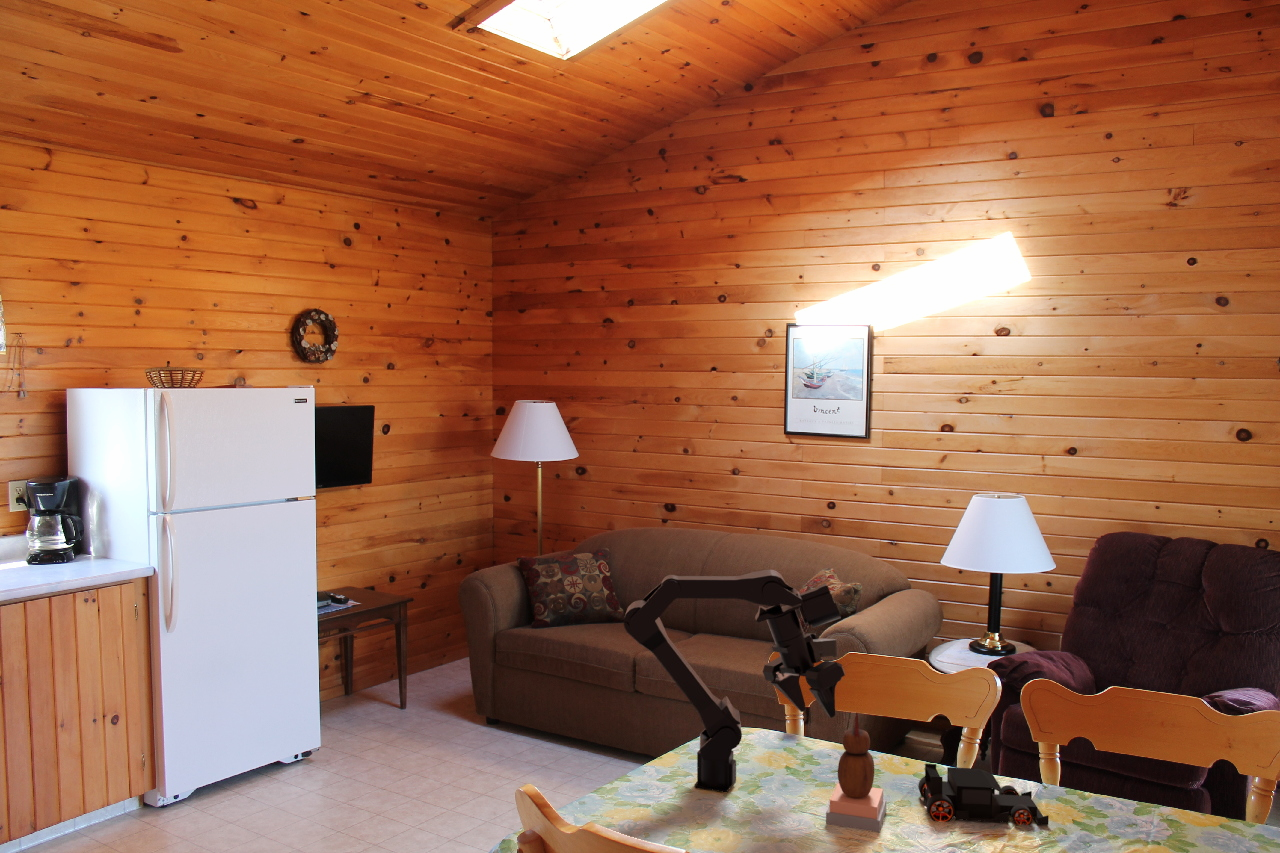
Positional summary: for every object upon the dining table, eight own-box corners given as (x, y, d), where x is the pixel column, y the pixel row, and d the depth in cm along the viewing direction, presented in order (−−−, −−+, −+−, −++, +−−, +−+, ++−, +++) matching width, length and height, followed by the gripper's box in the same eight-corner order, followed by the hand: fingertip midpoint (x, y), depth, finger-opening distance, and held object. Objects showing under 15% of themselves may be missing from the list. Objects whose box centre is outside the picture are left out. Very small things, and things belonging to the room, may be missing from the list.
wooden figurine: (866, 805, 163) (866, 717, 163) (833, 797, 166) (833, 712, 166) (878, 790, 169) (878, 706, 168) (846, 783, 172) (846, 700, 171)
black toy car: (1048, 829, 164) (1049, 787, 164) (927, 823, 166) (928, 781, 166) (1030, 803, 174) (1031, 763, 174) (917, 797, 177) (917, 758, 176)
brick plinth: (826, 823, 165) (826, 800, 165) (835, 802, 174) (835, 780, 173) (879, 832, 162) (879, 809, 162) (886, 810, 170) (886, 788, 170)
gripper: (851, 619, 175) (881, 700, 175) (793, 616, 192) (820, 690, 192) (805, 645, 170) (836, 728, 170) (749, 640, 187) (777, 715, 187)
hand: (817, 713), depth 180 cm, fingers open, 9 cm apart
